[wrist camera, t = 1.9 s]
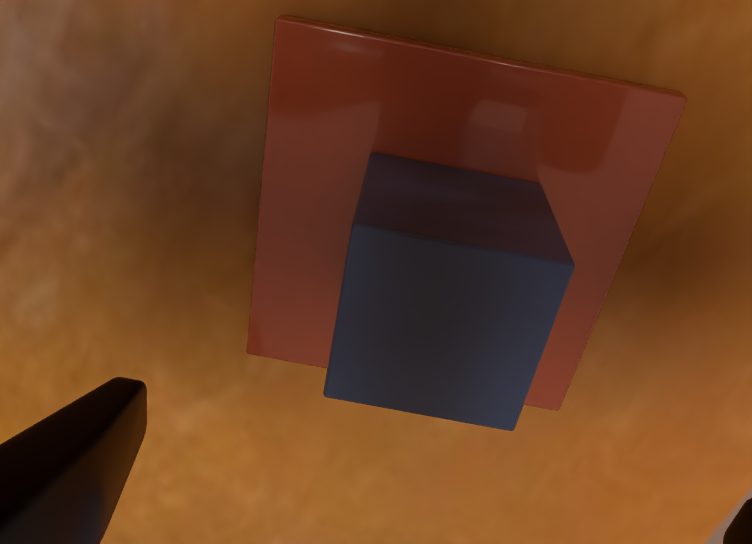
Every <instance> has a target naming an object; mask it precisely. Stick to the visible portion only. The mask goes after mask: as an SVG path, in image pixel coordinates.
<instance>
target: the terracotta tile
mask: <svg viewBox="0 0 752 544" xmlns="http://www.w3.org/2000/svg"><path fill="white" fill-rule="evenodd" d="M686 102H687V97H686V96H685V95H683V94H682V93H680V92H679V91H674V90H668V89H663V88H658V87H653V86H648V85H643V84H637V83H632V82H627V81H622V80H617V79H612V78H607V77H601V76H596V75H591V74H586V73H581V72H576V71H571V70H565V69H560V68H555V67H550V66H545V65H540V64H534V63H529V62H524V61H519V60H514V59H509V58H504V57H498V56H493V55H488V54H483V53H478V52H473V51H467V50H462V49H457V48H452V47H447V46H442V45H437V44H431V43H426V42H421V41H416V40H411V39H406V38H400V37H395V36H390V35H385V34H380V33H375V32H370V31H364V30H359V29H354V28H349V27H344V26H339V25H334V24H328V23H323V22H318V21H313V20H308V19H303V18H297V17H292V16H287V15H280V16H278V17H277V18H276V20H275V30H274V42H273V53H272V65H271V76H270V87H269V99H268V110H267V122H266V133H265V145H264V156H263V167H262V179H261V190H260V202H259V213H258V225H257V236H256V248H255V259H254V270H253V282H252V293H251V305H250V316H249V328H248V339H247V350H246V351H247V353H248V354H252V355H257V356H263V357H268V358H273V359H279V360H284V361H290V362H295V363H301V364H306V365H311V366H317V367H322V368H328V363H329V357H330V351H331V345H332V339H333V333H334V327H335V321H336V315H337V309H338V303H339V298H340V292H341V286H342V280H343V274H344V268H345V262H346V256H347V250H348V244H349V238H350V232H351V226H352V222H353V218H354V214H355V210H356V206H357V203H358V199H359V195H360V191H361V187H362V183H363V179H364V175H365V172H366V168H367V164H368V160H369V156H370V153H371V152H378V153H383V154H388V155H393V156H399V157H404V158H409V159H414V160H420V161H425V162H430V163H435V164H441V165H446V166H451V167H456V168H462V169H467V170H472V171H477V172H483V173H488V174H493V175H498V176H504V177H509V178H514V179H519V180H525V181H530V182H535V183H540V184H541V185H542V187H543V190H544V192H545V194H546V197H547V199H548V202H549V204H550V206H551V209H552V211H553V213H554V216H555V218H556V221H557V223H558V225H559V228H560V230H561V232H562V235H563V237H564V240H565V242H566V244H567V247H568V249H569V252H570V254H571V256H572V259H573V261H574V263H575V269H574V271H573V274H572V277H571V279H570V282H569V285H568V287H567V290H566V293H565V295H564V298H563V301H562V303H561V306H560V309H559V311H558V314H557V317H556V319H555V322H554V325H553V327H552V330H551V333H550V335H549V338H548V341H547V343H546V346H545V349H544V351H543V354H542V357H541V359H540V362H539V365H538V367H537V370H536V373H535V375H534V378H533V381H532V383H531V386H530V389H529V391H528V394H527V397H526V399H525V402H524V405H529V406H534V407H539V408H545V409H550V410H556V411H558V410H559V409H560V406H561V404H562V402H563V399H564V397H565V394H566V392H567V390H568V387H569V385H570V382H571V380H572V377H573V375H574V373H575V370H576V368H577V365H578V363H579V361H580V358H581V356H582V353H583V351H584V348H585V346H586V344H587V341H588V339H589V336H590V334H591V331H592V329H593V327H594V324H595V322H596V319H597V317H598V315H599V312H600V310H601V307H602V305H603V302H604V300H605V298H606V295H607V293H608V290H609V288H610V286H611V283H612V281H613V278H614V276H615V273H616V271H617V269H618V266H619V264H620V261H621V259H622V256H623V254H624V252H625V249H626V247H627V244H628V242H629V240H630V237H631V235H632V232H633V230H634V227H635V225H636V223H637V220H638V218H639V215H640V213H641V211H642V208H643V206H644V203H645V201H646V198H647V196H648V194H649V191H650V189H651V186H652V184H653V181H654V179H655V177H656V174H657V172H658V169H659V167H660V165H661V162H662V160H663V157H664V155H665V152H666V150H667V148H668V145H669V143H670V140H671V138H672V136H673V133H674V131H675V128H676V126H677V123H678V121H679V119H680V116H681V114H682V111H683V109H684V107H685V104H686Z"/></svg>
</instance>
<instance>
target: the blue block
mask: <svg viewBox="0 0 752 544" xmlns="http://www.w3.org/2000/svg"><path fill="white" fill-rule="evenodd" d="M574 269H575V263H574V261H573V259H572V256H571V254H570V252H569V249H568V247H567V244H566V242H565V240H564V237H563V235H562V232H561V230H560V228H559V225H558V223H557V221H556V218H555V216H554V213H553V211H552V209H551V206H550V204H549V202H548V199H547V197H546V194H545V192H544V190H543V187H542V185H541V184H540V183H535V182H530V181H525V180H519V179H514V178H509V177H504V176H498V175H493V174H488V173H483V172H477V171H472V170H467V169H462V168H456V167H451V166H446V165H441V164H435V163H430V162H425V161H420V160H414V159H409V158H404V157H399V156H393V155H388V154H383V153H378V152H371V153H370V156H369V160H368V164H367V168H366V172H365V175H364V179H363V183H362V187H361V191H360V195H359V199H358V203H357V206H356V210H355V214H354V218H353V222H352V226H351V232H350V238H349V244H348V250H347V256H346V262H345V268H344V274H343V280H342V286H341V292H340V298H339V303H338V309H337V315H336V321H335V327H334V333H333V339H332V345H331V351H330V357H329V363H328V369H327V375H326V380H325V386H324V392H323V393H324V396H325V397H328V398H334V399H339V400H345V401H350V402H356V403H361V404H366V405H372V406H377V407H383V408H388V409H394V410H399V411H405V412H410V413H416V414H421V415H426V416H432V417H437V418H443V419H448V420H454V421H459V422H465V423H470V424H476V425H481V426H486V427H492V428H497V429H503V430H508V431H513V430H514V429H515V426H516V423H517V421H518V418H519V415H520V413H521V410H522V407H523V405H524V402H525V399H526V397H527V394H528V391H529V389H530V386H531V383H532V381H533V378H534V375H535V373H536V370H537V367H538V365H539V362H540V359H541V357H542V354H543V351H544V349H545V346H546V343H547V341H548V338H549V335H550V333H551V330H552V327H553V325H554V322H555V319H556V317H557V314H558V311H559V309H560V306H561V303H562V301H563V298H564V295H565V293H566V290H567V287H568V285H569V282H570V279H571V277H572V274H573V271H574Z"/></svg>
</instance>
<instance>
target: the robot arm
mask: <svg viewBox="0 0 752 544" xmlns="http://www.w3.org/2000/svg"><path fill="white" fill-rule="evenodd" d="M146 426H147V388H146V385H145V383H144V382H142V381H140V380H134V379H129V378H124V377H116V378H113V379H111V380H110V381H108V382H106V383H105V384H103V385H101V386H99V387H98V388H96V389H94V390H93V391H91V392H89V393H87V394H86V395H84V396H82V397H81V398H79V399H77V400H76V401H74V402H72V403H70V404H69V405H67V406H65V407H64V408H62V409H60V410H58V411H57V412H55V413H53V414H52V415H50V416H48V417H47V418H45V419H43V420H41V421H40V422H38V423H36V424H35V425H33V426H31V427H29V428H28V429H26V430H24V431H23V432H21V433H19V434H18V435H16V436H14V437H12V438H11V439H9V440H7V441H6V442H4V443H2V444H0V544H100V542H101V540H102V538H103V536H104V534H105V531H106V529H107V527H108V524H109V522H110V520H111V517H112V515H113V512H114V510H115V508H116V505H117V503H118V500H119V498H120V495H121V493H122V490H123V488H124V485H125V483H126V480H127V478H128V476H129V473H130V471H131V468H132V466H133V463H134V461H135V458H136V456H137V453H138V451H139V448H140V446H141V444H142V441H143V438H144V435H145V431H146ZM723 544H752V498H751V499H749V500H747V501H746V502H745V503H744V505H743V506H742V508H741V509H740V511H739V512H738V514H737V515H736V516H735V518H734V519H733V521H732V522H731V524H730V525H729V527H728V528H727V530H726V532H725V535H724V539H723Z"/></svg>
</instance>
